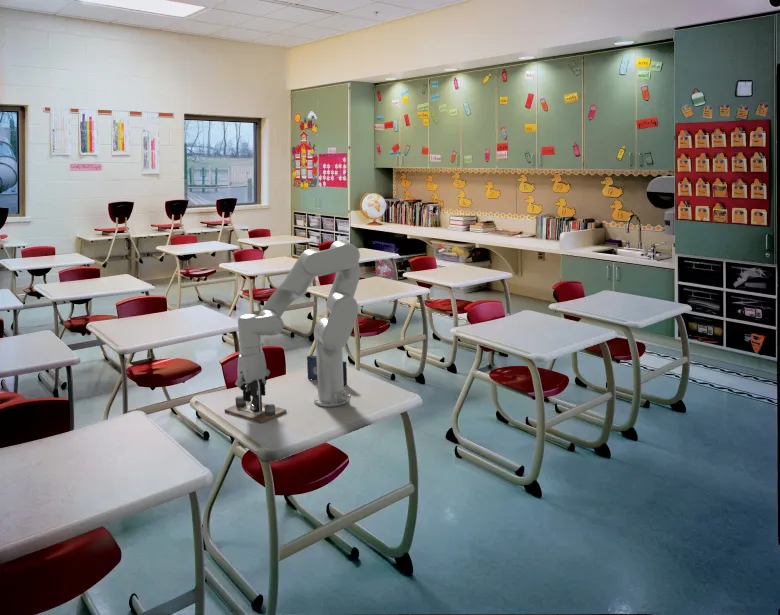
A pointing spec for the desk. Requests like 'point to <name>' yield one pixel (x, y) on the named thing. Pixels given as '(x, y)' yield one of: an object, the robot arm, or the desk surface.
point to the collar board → (246, 412)
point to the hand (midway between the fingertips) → (254, 397)
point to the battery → (256, 396)
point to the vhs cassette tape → (313, 369)
